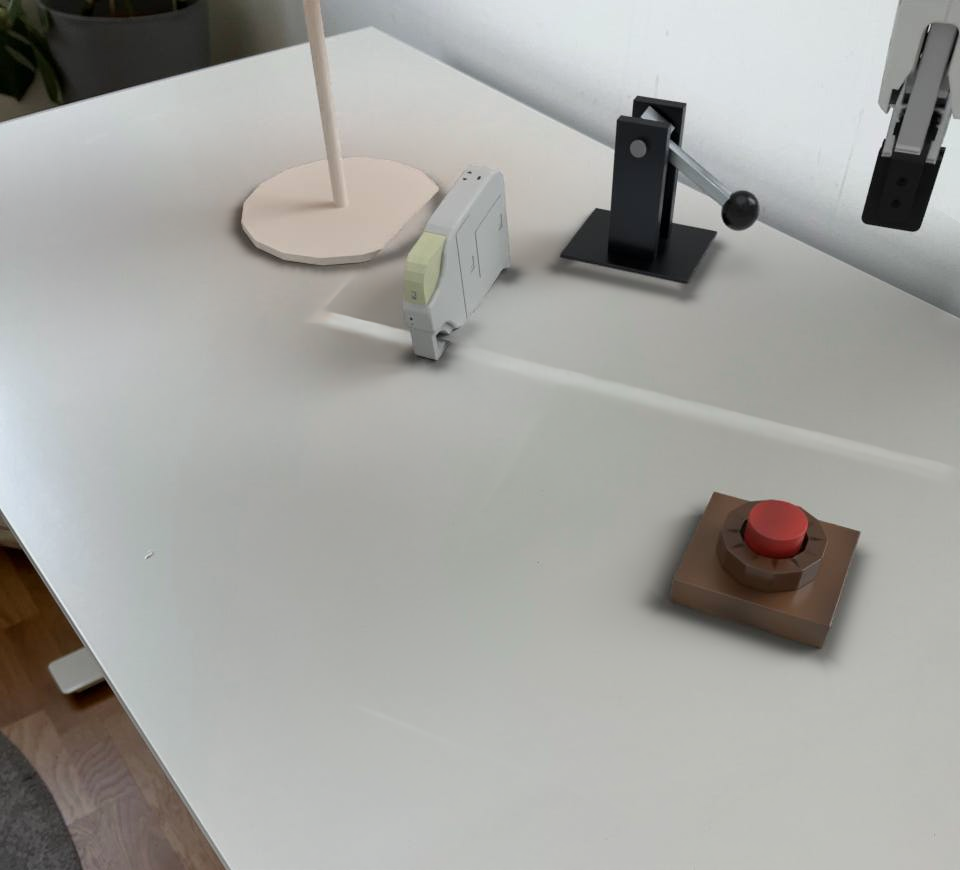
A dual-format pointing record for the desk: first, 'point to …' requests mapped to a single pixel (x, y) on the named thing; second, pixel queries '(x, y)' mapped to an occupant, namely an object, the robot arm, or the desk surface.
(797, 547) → the button
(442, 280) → the grey clip-foot housing
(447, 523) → the desk surface
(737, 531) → the button block
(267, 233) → the desk lamp
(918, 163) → the robot arm
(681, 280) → the lever bracket
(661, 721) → the desk surface
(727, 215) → the tap lever
